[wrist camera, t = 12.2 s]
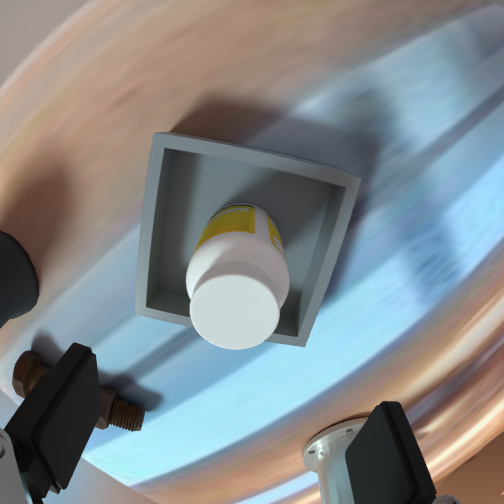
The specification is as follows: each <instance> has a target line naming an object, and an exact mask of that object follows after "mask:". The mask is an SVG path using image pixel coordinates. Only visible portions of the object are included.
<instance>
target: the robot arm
mask: <svg viewBox="0 0 504 504" xmlns="http://www.w3.org/2000/svg"><path fill="white" fill-rule="evenodd" d="M101 410H102V404H101V397H100V389H99V381H98V372H97V362H96V355H95V354H94V353H92V350H91V348H90V347H87V346H84V345H81V344H78V343H73V344H72V345H71V346H70V347H69V349H68V350H67V351H66V353H65V354H64V355H63V356H62V358H61V359H60V360H59V362H58V363H57V364H56V366H55V367H54V368H53V370H52V371H51V372H50V373H49V372H47V373H44V374H43V375H42V376H41V378H40V379H39V380H38V382H37V383H36V384H35V386H34V387H33V388H32V390H31V391H30V393H29V394H28V395H27V397H26V398H25V399H24V401H23V402H22V404H21V405H20V406H19V408H18V409H17V411H16V412H15V414H14V415H13V416H12V418H11V419H10V421H9V422H8V424H7V425H6V427H5V429H4V430H3V429H1V428H0V504H46V502H45V499H44V498H45V497H46V495H47V493H48V491H49V490H50V491H52V492H54V493H56V494H59V492H60V490H61V489H66V488H67V486H68V484H69V482H70V479H71V477H72V475H73V472H74V470H75V468H76V466H77V463H78V461H79V459H80V457H81V455H82V453H83V450H84V448H85V446H86V444H87V442H88V440H89V438H90V436H91V433H92V431H93V429H94V427H95V425H96V423H97V421H98V419H99V417H100V414H101ZM302 458H303V463H304V465H305V466H306V468H308V469H309V470H311V471H313V472H315V473H317V474H318V481H319V488H320V495H321V502H322V504H461V502H460V501H459V500H458V499H457V498H455V497H454V496H451V495H441V496H439V497H436V495H435V494H436V493H437V492H436V489H435V487H434V484H433V481H432V479H431V476H430V473H429V471H428V468H427V466H426V463H425V461H424V458H423V456H422V453H421V451H420V448H419V446H418V444H417V441H416V439H415V436H414V434H413V432H412V429H411V427H410V425H409V422H408V420H407V418H406V415H405V413H404V411H403V409H402V406H401V404H400V403H399V402H396V401H383V402H381V403H380V405H377V406H376V407H375V408H374V410H373V412H372V413H371V415H370V416H369V417H365V418H358V419H353V420H349V421H346V422H342V423H339V424H337V425H334V426H332V427H330V428H328V429H326V430H324V431H322V432H320V433H319V434H317V435H316V436H315V437H313V438H312V439H311V440H310V441H309V442H308V443H307V444H306V446H305V447H304V449H303V452H302Z"/></svg>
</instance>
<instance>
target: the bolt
mask: <svg viewBox="0 0 504 504" xmlns="http://www.w3.org/2000/svg"><path fill="white" fill-rule="evenodd" d="M47 372H49V373H50V372H51V370H49V369H48V368H46V367H44V366H42V365H41V359H40V354H38V353H36V352H34V351H32V350H29V351H25V352H23V353H22V355H21V356H20V357H19V359H18V360H17V362H16V364H15V367H14V371H13V379H12V385H13V388H14V390H15V392H16V393H17V395H19V396H21V397H22V398H24V399H25V398H26V397H27V395H28V394H29V393H30V391H31V390H32V388H33V387H34V386H35V384H36V383H37V382H38V380H39V379H40V378H41V376H42V375H43V374H44V373H47ZM99 389H100V397H101V404H102V410H101V414H100V417H99V419H98V421H97V423H96V425H95V427H97V428H99V429H102V430H103V429H106V428H108V426H109V424H111V425H112V424H113V426H115V425H116V427H118V426H119V428H121V427H122V429H124V428H125V429H126V430H127V429H128V430H129V431H130V430H131V431H132V432H133V431H140V430H141V427H142V423H143V420H144V415H145V410H144V409H143V407H142V408H140V406H139V407H138V406H137V405H136V406H135V404H133V405H132V403H130V404H129V402H127V403H126V401H124V402H123V400H121V401H120V399H117V398H116V396H117V393H116V391H115V390H113V389H111V388H108V387H106V386H102V387H100V388H99Z"/></svg>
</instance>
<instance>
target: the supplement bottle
mask: <svg viewBox="0 0 504 504" xmlns="http://www.w3.org/2000/svg"><path fill="white" fill-rule="evenodd" d="M289 283H290V282H289V271H288V267H287V263H286V258H285V254H284V250H283V246H282V241H281V237H280V233H279V230H278V227H277V225H276V223H275V221H274V220H273V219H272V217H271V216H270V215H269V214H268V213H267V212H266V211H264V210H263V209H261V208H259V207H257V206H255V205H251V204H246V203H236V204H231V205H228V206H225V207H223V208H222V209H220V210H218V211H217V212H216V213H215V214H214V215H213V216H212V217H211V218H210V219H209V221H208V222H207V224H206V226H205V228H204V230H203V232H202V234H201V237H200V239H199V241H198V244H197V246H196V249H195V251H194V253H193V255H192V258H191V260H190V263H189V266H188V269H187V274H186V287H187V291H188V295H189V297H190V300H191V301H190V317H191V321H192V323H193V325H194V327H195V329H196V330H197V331H198V333H199V334H200V335H201V336H202V337H203V338H205V339H206V340H207V341H209V342H210V343H212V344H214V345H216V346H219V347H222V348H227V349H246V348H250V347H254V346H256V345H258V344H260V343H262V342H263V341H265V340H266V339H267V338H268V337H269V336H270V335H271V334H272V333H273V332H274V330H275V329H276V327H277V325H278V322H279V318H280V308H281V307H282V305H283V304H284V302H285V300H286V297H287V295H288V291H289Z"/></svg>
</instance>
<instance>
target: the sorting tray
mask: <svg viewBox="0 0 504 504" xmlns="http://www.w3.org/2000/svg"><path fill="white" fill-rule="evenodd" d="M361 180H362V178H360V177H358V176H356V175H354V174H352V173H350V172H348V171H346V170H343V169H339V168H335V167H332V166H328V165H325V164H321V163H317V162H313V161H310V160H306V159H302V158H298V157H294V156H290V155H286V154H282V153H277V152H273V151H269V150H264V149H260V148H255V147H251V146H246V145H241V144H236V143H231V142H226V141H221V140H216V139H210V138H205V137H199V136H193V135H187V134H181V133H175V132H156V133H154V136H153V142H152V147H151V153H150V160H149V166H148V173H147V180H146V187H145V195H144V202H143V211H142V220H141V229H140V240H139V251H138V264H137V279H136V299H135V314H137V315H141V316H145V317H149V318H154V319H158V320H162V321H166V322H171V323H175V324H180V325H184V326H189V327H193V328H195V327H194V325H193V323H192V321H191V317H190V301H191V300H190V297H189V295H188V291H187V287H186V274H187V269H188V266H189V263H190V260H191V258H192V255H193V253H194V251H195V249H196V246H197V244H198V241H199V239H200V237H201V234H202V232H203V230H204V228H205V226H206V224H207V222H208V221H209V219H210V218H211V217H212V216H213V215H214V214H215V213H216V212H217V211H218V210H220V209H222V208H223V207H225V206H228V205H231V204H236V203H246V204H251V205H255V206H257V207H259V208H261V209H263V210H264V211H266V212H267V213H268V214H269V215H270V216H271V217H272V219H273V220H274V221H275V223H276V225H277V227H278V230H279V233H280V237H281V241H282V246H283V250H284V254H285V258H286V263H287V267H288V271H289V282H290V283H289V291H288V295H287V297H286V300H285V302H284V304H283V305H282V307H281V308H280V318H279V322H278V325H277V327H276V329H275V330H274V332H273V333H272V334H271V335H270V336H269V337H268V338H267V339H266V340H265V341H268V342H274V343H280V344H287V345H293V346H300V347H305V345H306V343H307V340H308V337H309V335H310V332H311V330H312V327H313V325H314V322H315V319H316V317H317V314H318V311H319V309H320V306H321V303H322V300H323V298H324V295H325V292H326V289H327V287H328V284H329V281H330V278H331V275H332V272H333V269H334V266H335V263H336V261H337V258H338V255H339V252H340V249H341V245H342V242H343V239H344V236H345V233H346V230H347V227H348V224H349V220H350V217H351V214H352V210H353V207H354V204H355V200H356V197H357V194H358V190H359V187H360V183H361Z"/></svg>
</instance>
